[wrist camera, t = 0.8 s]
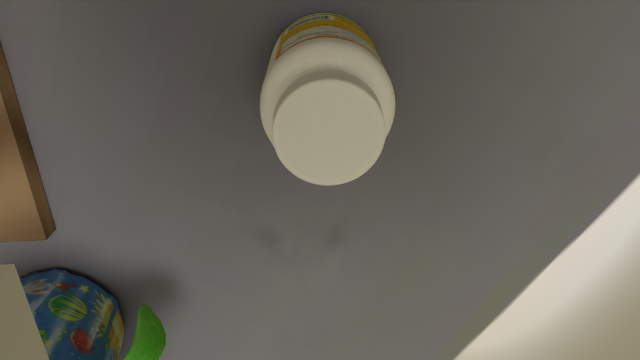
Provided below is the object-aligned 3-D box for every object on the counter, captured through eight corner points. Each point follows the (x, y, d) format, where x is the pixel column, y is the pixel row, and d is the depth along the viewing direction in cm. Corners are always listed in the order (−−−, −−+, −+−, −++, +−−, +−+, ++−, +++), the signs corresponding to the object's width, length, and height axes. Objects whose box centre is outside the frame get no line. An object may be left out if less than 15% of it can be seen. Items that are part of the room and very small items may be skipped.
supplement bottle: (340, 133, 29) (352, 227, 20) (252, 83, 28) (224, 160, 19) (398, 47, 27) (438, 110, 18) (305, -12, 26) (301, 26, 17)
